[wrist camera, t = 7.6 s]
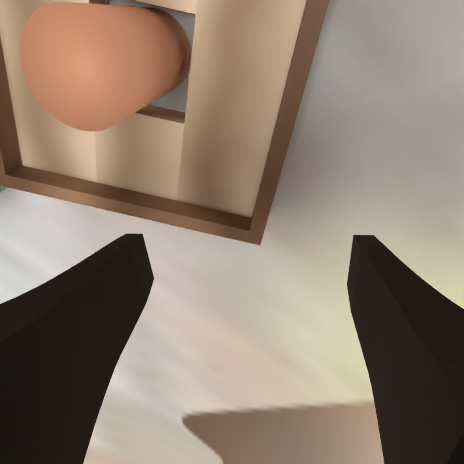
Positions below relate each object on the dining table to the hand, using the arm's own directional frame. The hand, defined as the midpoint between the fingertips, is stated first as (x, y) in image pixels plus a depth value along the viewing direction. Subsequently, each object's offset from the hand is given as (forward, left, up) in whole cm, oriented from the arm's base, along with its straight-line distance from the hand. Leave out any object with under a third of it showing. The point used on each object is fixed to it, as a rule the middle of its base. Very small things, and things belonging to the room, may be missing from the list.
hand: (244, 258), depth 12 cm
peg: (+7, -4, -10) cm, 13 cm away
